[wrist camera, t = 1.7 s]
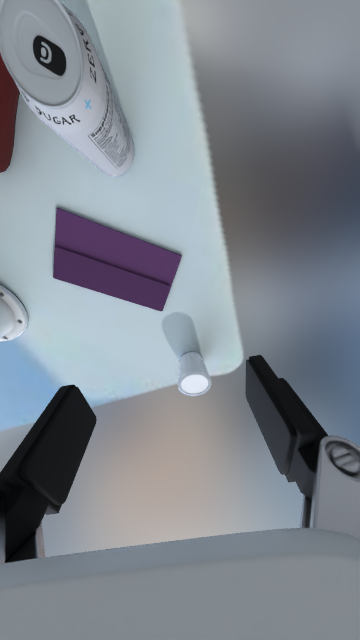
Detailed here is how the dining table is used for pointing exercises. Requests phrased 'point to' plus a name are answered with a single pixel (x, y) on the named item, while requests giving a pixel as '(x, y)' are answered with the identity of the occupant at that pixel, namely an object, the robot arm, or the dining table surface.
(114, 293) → the napkin
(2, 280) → the dining table surface
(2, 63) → the ashtray
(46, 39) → the energy drink can
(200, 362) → the shot glass
